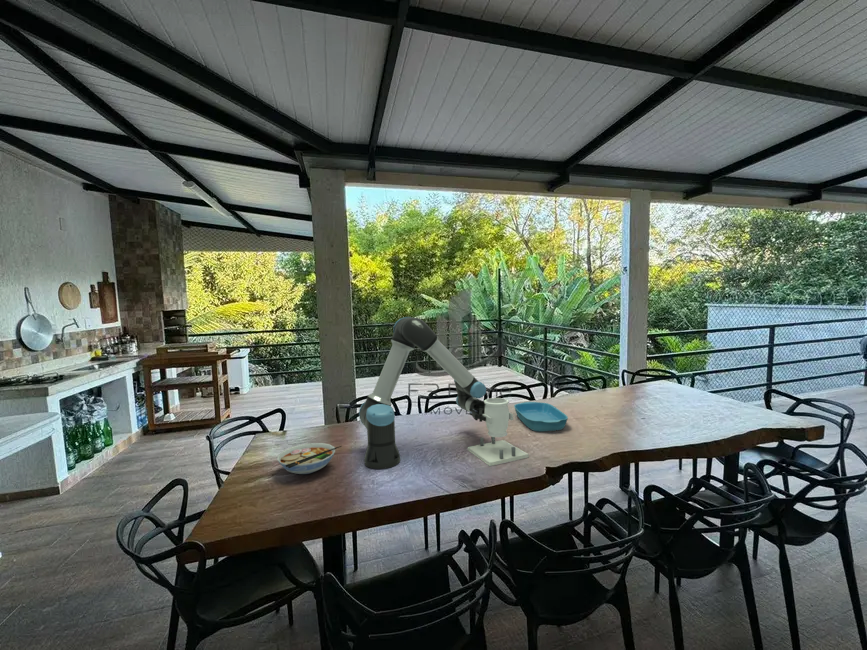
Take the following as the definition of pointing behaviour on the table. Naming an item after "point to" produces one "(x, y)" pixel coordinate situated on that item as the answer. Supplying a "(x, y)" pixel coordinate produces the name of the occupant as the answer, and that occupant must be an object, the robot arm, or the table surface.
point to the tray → (497, 452)
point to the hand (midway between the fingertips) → (501, 419)
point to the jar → (497, 416)
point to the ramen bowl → (306, 457)
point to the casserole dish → (541, 416)
